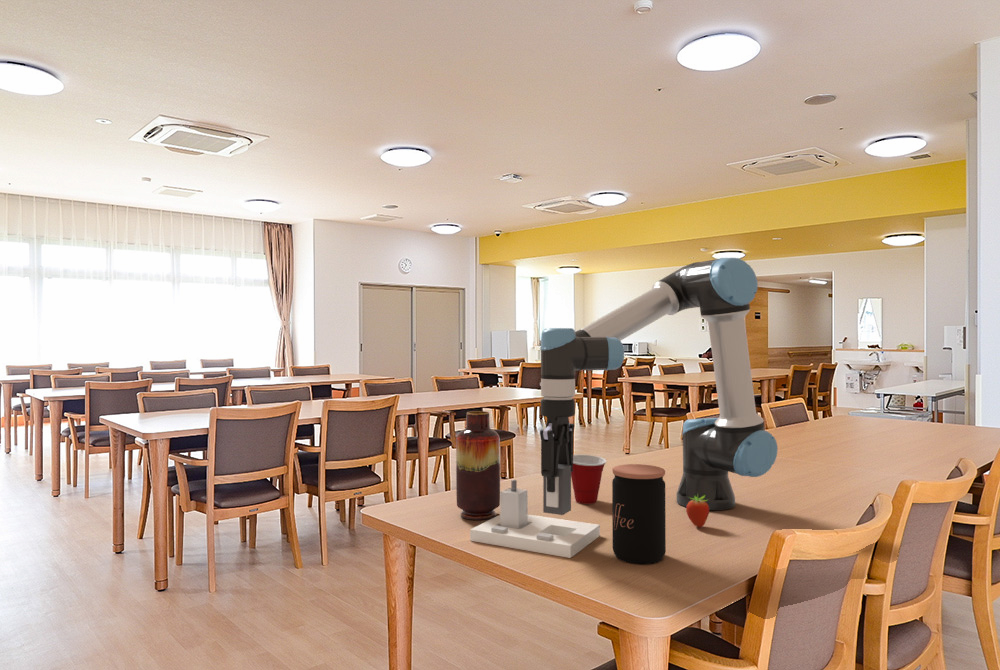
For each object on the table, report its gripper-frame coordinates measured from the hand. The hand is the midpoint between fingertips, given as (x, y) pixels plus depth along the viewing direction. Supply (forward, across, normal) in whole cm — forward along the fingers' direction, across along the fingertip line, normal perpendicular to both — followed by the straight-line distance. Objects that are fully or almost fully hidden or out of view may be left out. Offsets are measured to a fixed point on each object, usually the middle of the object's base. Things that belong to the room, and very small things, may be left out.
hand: (557, 503), depth 146 cm
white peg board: (+9, 0, -5) cm, 10 cm away
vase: (+9, -10, -26) cm, 30 cm away
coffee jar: (+9, +1, +19) cm, 21 cm away
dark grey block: (+2, 0, 0) cm, 2 cm away
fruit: (+8, -26, +25) cm, 37 cm away
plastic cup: (+9, -36, -7) cm, 38 cm away
